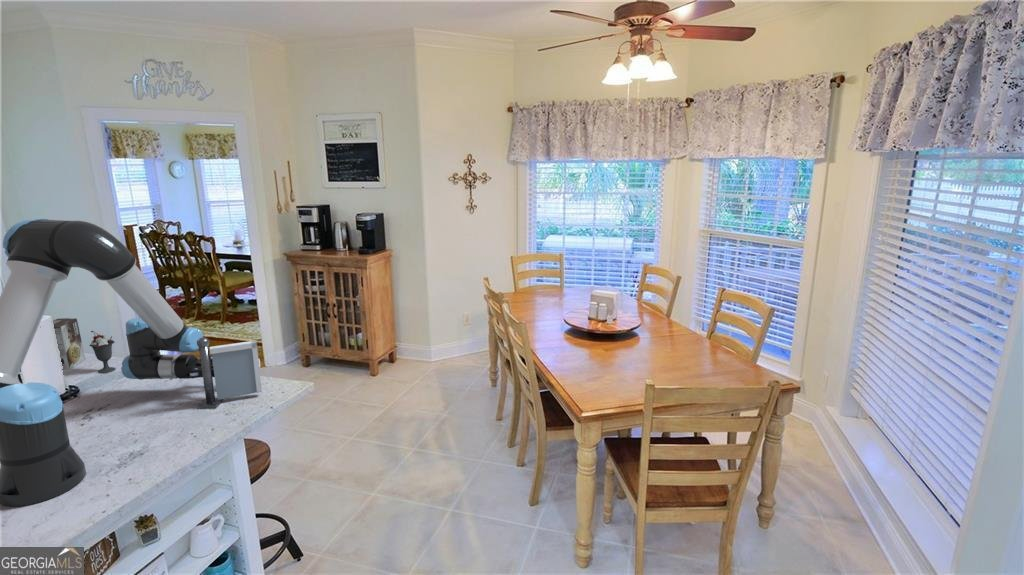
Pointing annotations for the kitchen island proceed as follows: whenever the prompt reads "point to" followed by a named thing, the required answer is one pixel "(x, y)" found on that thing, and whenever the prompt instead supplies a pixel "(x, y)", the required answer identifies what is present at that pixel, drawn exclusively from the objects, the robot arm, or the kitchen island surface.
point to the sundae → (103, 351)
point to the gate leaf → (236, 369)
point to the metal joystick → (207, 376)
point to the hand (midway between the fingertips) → (256, 365)
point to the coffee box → (69, 342)
